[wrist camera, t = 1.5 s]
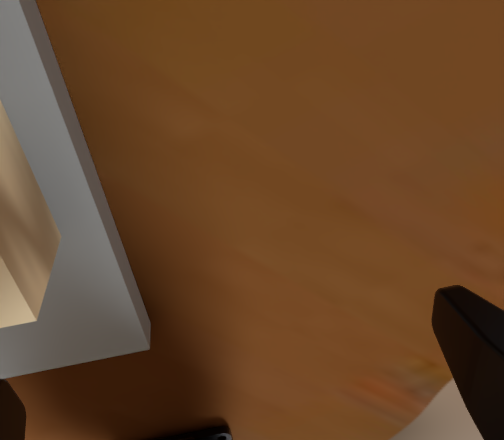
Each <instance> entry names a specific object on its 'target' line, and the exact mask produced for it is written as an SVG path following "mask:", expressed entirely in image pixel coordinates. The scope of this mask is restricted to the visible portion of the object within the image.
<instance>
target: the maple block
mask: <svg viewBox="0 0 504 440" xmlns="http://www.w3.org/2000/svg"><path fill="white" fill-rule="evenodd" d="M60 240H61V234H60V232H59V230H58V228H57V225H56V223H55V221H54V219H53V217H52V214H51V212H50V210H49V208H48V205H47V203H46V201H45V199H44V196H43V194H42V192H41V190H40V187H39V185H38V183H37V181H36V178H35V176H34V174H33V172H32V169H31V167H30V165H29V163H28V161H27V158H26V156H25V154H24V152H23V149H22V147H21V145H20V143H19V140H18V138H17V136H16V134H15V131H14V129H13V127H12V125H11V122H10V120H9V118H8V116H7V114H6V111H5V109H4V107H3V105H2V102H1V100H0V328H3V327H8V326H13V325H19V324H24V323H29V322H34V321H37V318H38V315H39V311H40V308H41V304H42V301H43V298H44V294H45V291H46V287H47V284H48V281H49V277H50V274H51V270H52V267H53V263H54V260H55V257H56V253H57V250H58V246H59V243H60Z"/></svg>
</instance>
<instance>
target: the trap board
mask: <svg viewBox="0 0 504 440" xmlns="http://www.w3.org/2000/svg"><path fill="white" fill-rule="evenodd" d="M0 100H1V102H2V105H3V107H4V109H5V111H6V114H7V116H8V118H9V120H10V122H11V125H12V127H13V129H14V131H15V134H16V136H17V138H18V140H19V143H20V145H21V147H22V149H23V152H24V154H25V156H26V158H27V161H28V163H29V165H30V167H31V169H32V172H33V174H34V176H35V178H36V181H37V183H38V185H39V187H40V190H41V192H42V194H43V196H44V199H45V201H46V203H47V205H48V208H49V210H50V212H51V214H52V217H53V219H54V221H55V223H56V225H57V228H58V230H59V232H60V234H61V240H60V243H59V246H58V250H57V253H56V257H55V260H54V263H53V267H52V270H51V274H50V277H49V281H48V284H47V287H46V291H45V294H44V298H43V301H42V304H41V308H40V311H39V315H38V318H37V321H34V322H29V323H24V324H19V325H13V326H8V327H3V328H0V379H5V378H10V377H15V376H20V375H25V374H30V373H35V372H40V371H45V370H50V369H55V368H60V367H65V366H70V365H75V364H80V363H85V362H90V361H95V360H100V359H105V358H110V357H115V356H120V355H125V354H129V353H134V352H139V351H144V350H149V349H150V330H151V323H150V320H149V317H148V315H147V312H146V309H145V306H144V303H143V301H142V298H141V295H140V292H139V289H138V287H137V284H136V281H135V278H134V275H133V273H132V270H131V267H130V264H129V261H128V259H127V256H126V253H125V250H124V247H123V245H122V242H121V239H120V236H119V233H118V231H117V228H116V225H115V222H114V219H113V217H112V214H111V211H110V208H109V205H108V203H107V200H106V197H105V194H104V191H103V189H102V186H101V183H100V180H99V177H98V175H97V172H96V169H95V166H94V163H93V160H92V158H91V155H90V152H89V149H88V146H87V144H86V141H85V138H84V135H83V132H82V130H81V127H80V124H79V121H78V118H77V116H76V113H75V110H74V107H73V104H72V102H71V99H70V96H69V93H68V90H67V88H66V85H65V82H64V79H63V76H62V74H61V71H60V68H59V65H58V62H57V60H56V57H55V54H54V51H53V48H52V46H51V43H50V40H49V37H48V34H47V32H46V29H45V26H44V23H43V20H42V18H41V15H40V12H39V9H38V6H37V4H36V1H35V0H0Z"/></svg>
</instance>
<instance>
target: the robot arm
mask: <svg viewBox="0 0 504 440" xmlns="http://www.w3.org/2000/svg"><path fill="white" fill-rule="evenodd" d="M432 327H433V331H434V333H435V336H436V338H437V340H438V343H439V345H440V348H441V350H442V352H443V355H444V357H445V359H446V362H447V364H448V366H449V369H450V371H451V373H452V376H453V378H454V380H455V383H456V385H457V387H458V390H459V392H460V394H461V396H462V398H463V401H464V403H465V405H466V408H467V410H468V412H469V413H470V415H471V417H472V419H473V421H474V423H475V425H476V426H477V428H478V430H479V432H480V433H481V435H482V437H483V439H484V440H504V310H502V309H500V308H499V307H497V306H495V305H493V304H492V303H490V302H488V301H487V300H485V299H483V298H482V297H480V296H478V295H477V294H475V293H473V292H471V291H470V290H468V289H466V288H465V287H463V286H460V285H453V286H449V287H444V288H440V289H438V290H437V291H436V293H435V297H434V305H433V313H432ZM25 426H26V411H25V407H24V405H23V403H22V402H21V400H20V399H19V397H18V396H17V394H16V393H15V391H14V390H13V389H12V387H11V386H10V384H9V383H8V382H7V381H6V380H4V379H0V440H24V439H25ZM160 440H233V439H232V435H231V431H230V429H229V428H227V427H217V428H212V429H208V430H203V431H198V432H193V433H189V434H184V435H179V436H175V437H170V438H165V439H160Z"/></svg>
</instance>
